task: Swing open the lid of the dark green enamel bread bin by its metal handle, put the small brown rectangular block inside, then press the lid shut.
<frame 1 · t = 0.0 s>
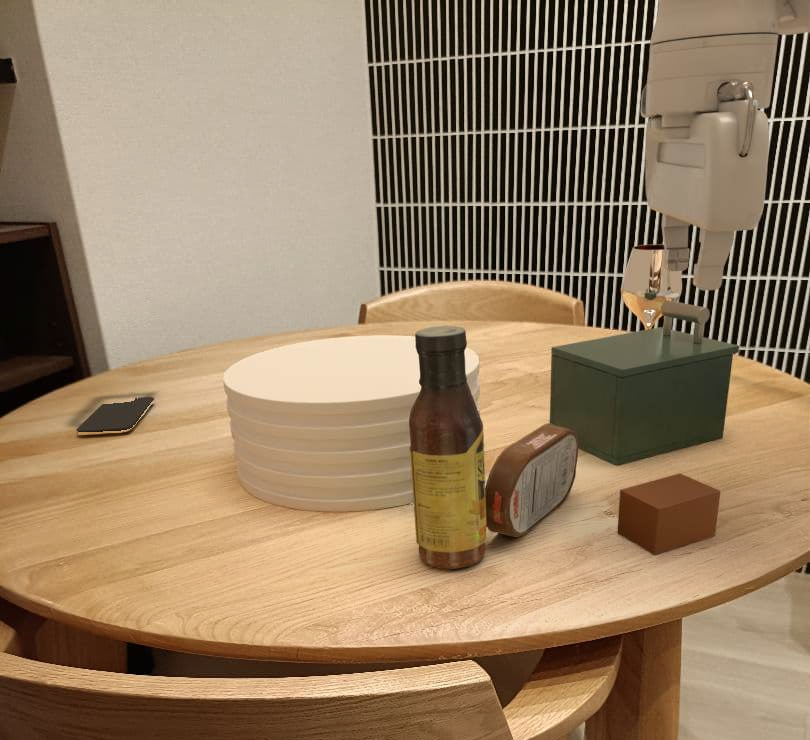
hand: (689, 278, 67), 22 cm above the table, tool pointing down, fingers open, 8 cm apart
wineglass: (644, 377, 120), on the table
bin lid: (644, 332, 92), point 12 cm above the table, hinge at 0.0°
plate stack: (360, 463, 95), on the table
bread bin: (634, 436, 98), on the table
brown rectangular block: (665, 534, 74), on the table
phone: (118, 419, 115), on the table
tin: (534, 521, 79), on the table
sauce bottle: (451, 557, 73), on the table
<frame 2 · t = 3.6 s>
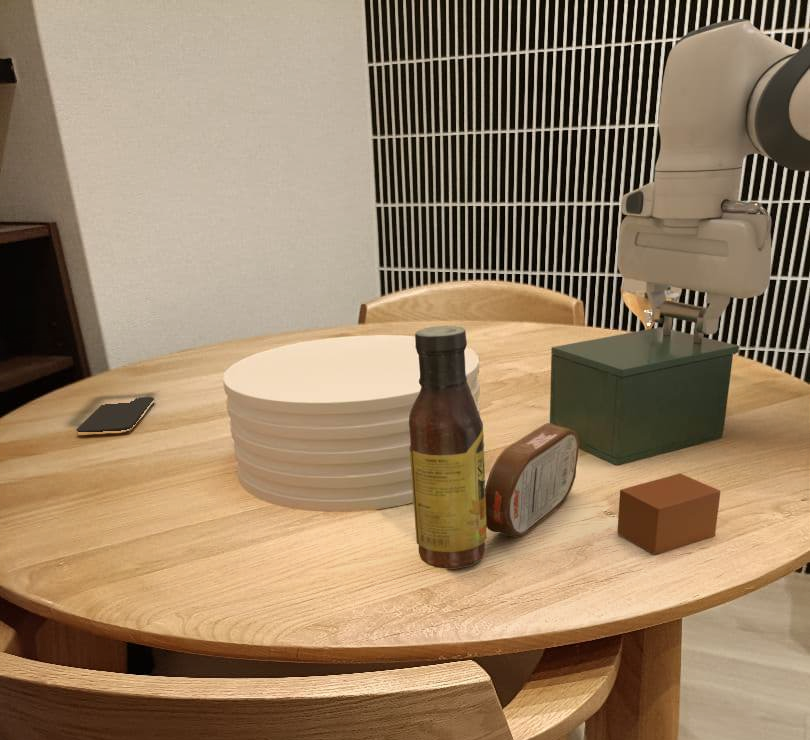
hand: (682, 327, 95), 12 cm above the table, tool pointing down, fingers closed on bin lid, 6 cm apart
bin lid: (644, 332, 92), point 12 cm above the table, hinge at 0.0°, touching gripper
everything else where it was.
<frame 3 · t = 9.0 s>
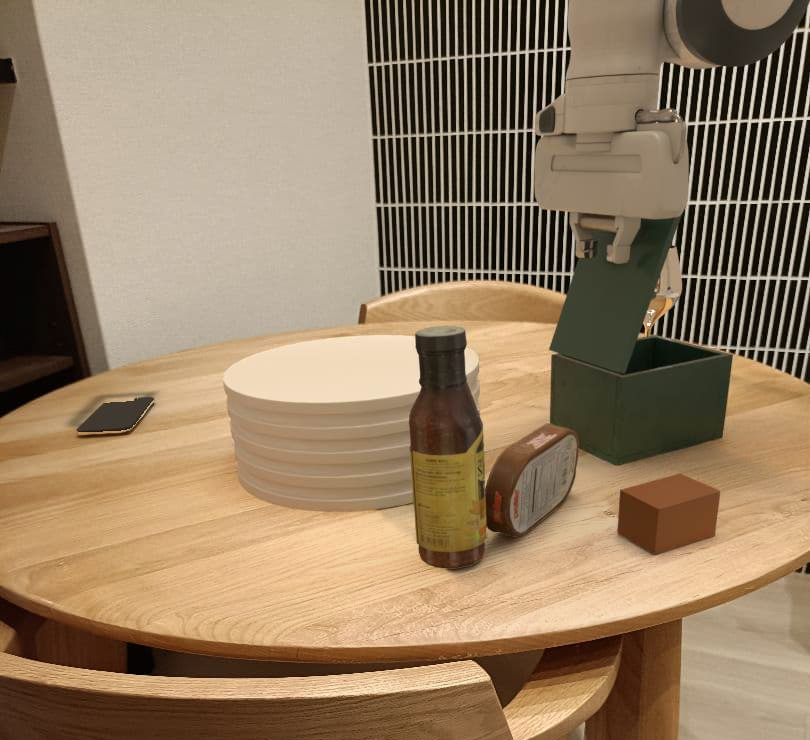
hand: (601, 260, 86), 21 cm above the table, tool pointing down, fingers closed on bin lid, 4 cm apart
bin lid: (596, 281, 87), point 19 cm above the table, hinge at 68.7°, touching gripper
everything else where it was.
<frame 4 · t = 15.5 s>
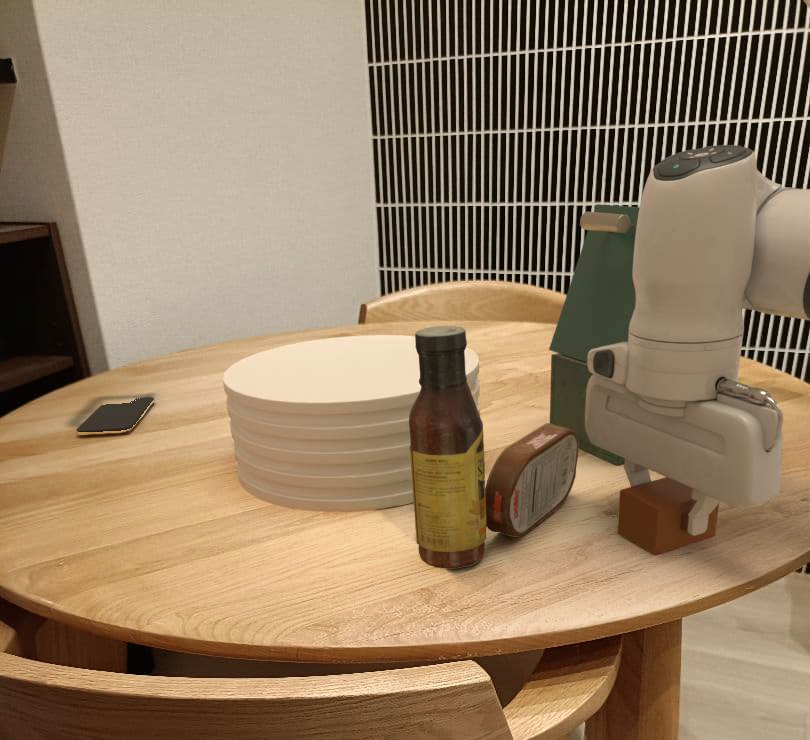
hand: (666, 518, 74), 2 cm above the table, tool pointing down, fingers closed on brown rectangular block, 5 cm apart
bin lid: (596, 281, 87), point 19 cm above the table, hinge at 68.6°
brown rectangular block: (665, 534, 74), on the table, touching gripper
everything else where it was.
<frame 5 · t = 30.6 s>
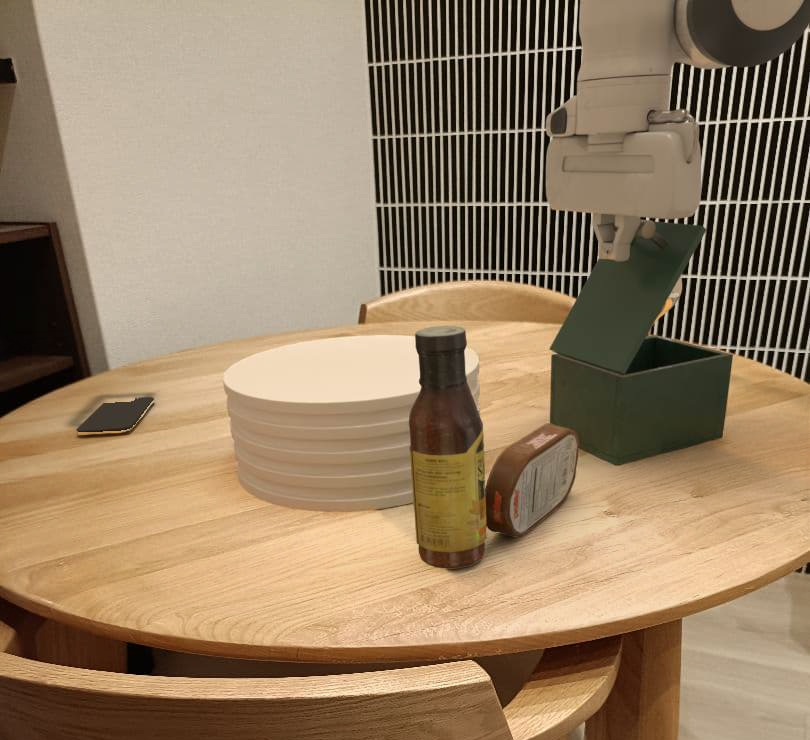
hand: (613, 259, 87), 21 cm above the table, tool pointing down, fingers closed
bin lid: (611, 284, 88), point 18 cm above the table, hinge at 54.8°
brown rectangular block: (654, 424, 98), point 1 cm above the table, touching bread bin
everything else where it was.
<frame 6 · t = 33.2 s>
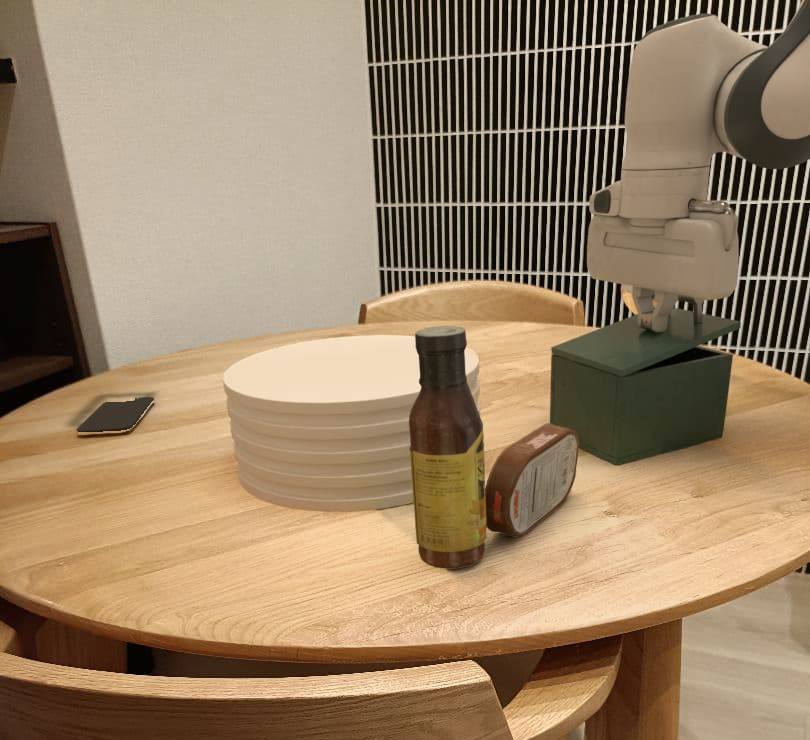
hand: (651, 329, 93), 12 cm above the table, tool pointing down, fingers closed
bin lid: (642, 320, 92), point 14 cm above the table, hinge at 9.5°, touching gripper
everything else where it was.
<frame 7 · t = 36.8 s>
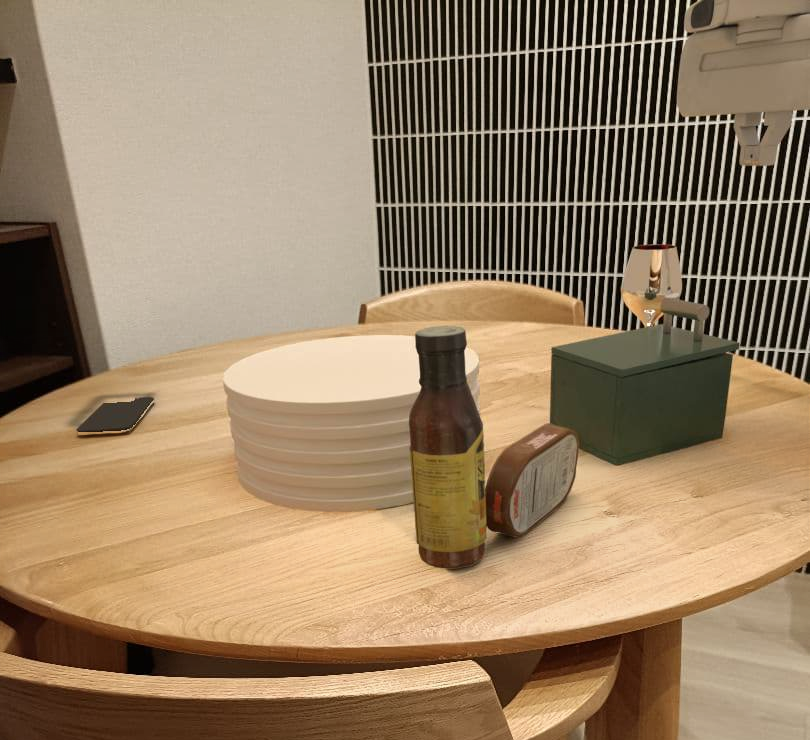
hand: (756, 165, 81), 29 cm above the table, tool pointing down, fingers closed
bin lid: (644, 330, 92), point 12 cm above the table, hinge at 1.3°
everything else where it was.
at the end: bin lid reached +71° during the clip, +1° at the end; brown rectangular block inside the target area in the bread bin (3.0 cm from its centre), point 0.8 cm above the bread bin's base; bin lid at +1° (first picture: +0°) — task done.
